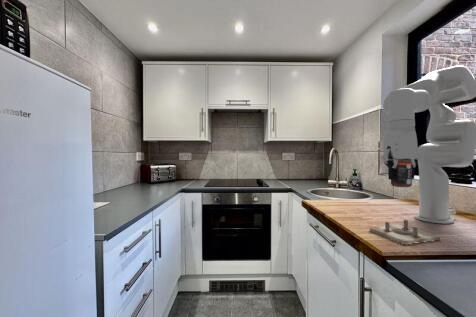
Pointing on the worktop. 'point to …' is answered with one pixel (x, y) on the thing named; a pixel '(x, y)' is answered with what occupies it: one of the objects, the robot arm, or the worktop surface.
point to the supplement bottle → (403, 174)
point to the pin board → (403, 233)
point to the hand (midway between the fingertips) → (401, 178)
